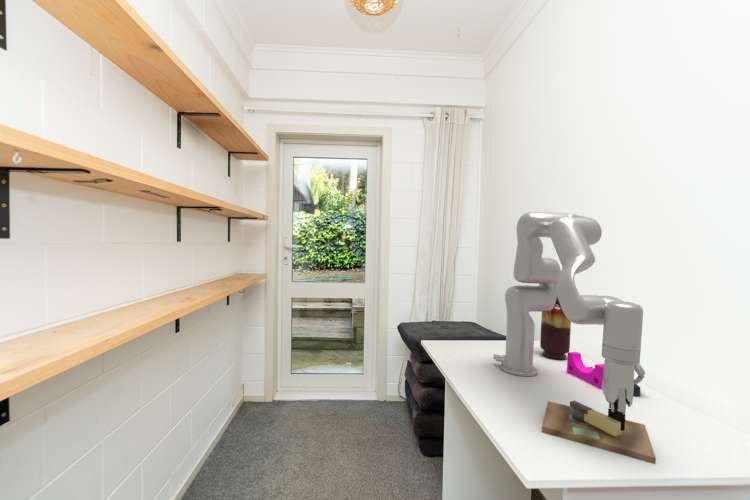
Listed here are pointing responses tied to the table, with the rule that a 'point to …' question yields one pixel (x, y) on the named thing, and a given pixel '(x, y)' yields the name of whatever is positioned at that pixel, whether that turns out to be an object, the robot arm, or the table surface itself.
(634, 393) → the watch
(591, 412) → the lever handle
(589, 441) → the wooden lever switch board
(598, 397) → the table surface
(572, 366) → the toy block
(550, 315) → the vase
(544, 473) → the table surface
